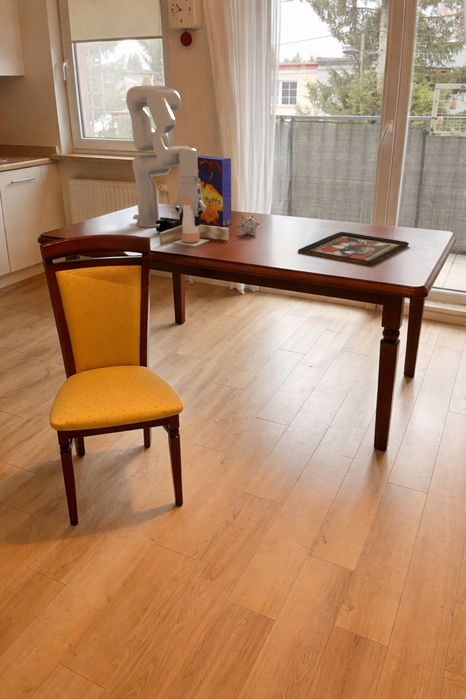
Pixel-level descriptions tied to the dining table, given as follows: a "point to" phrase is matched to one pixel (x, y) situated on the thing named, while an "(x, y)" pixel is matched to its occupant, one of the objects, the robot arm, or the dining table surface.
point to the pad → (191, 242)
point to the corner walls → (203, 230)
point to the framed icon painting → (354, 248)
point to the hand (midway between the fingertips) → (190, 224)
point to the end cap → (167, 224)
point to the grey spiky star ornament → (248, 225)
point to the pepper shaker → (189, 222)
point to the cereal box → (215, 189)
